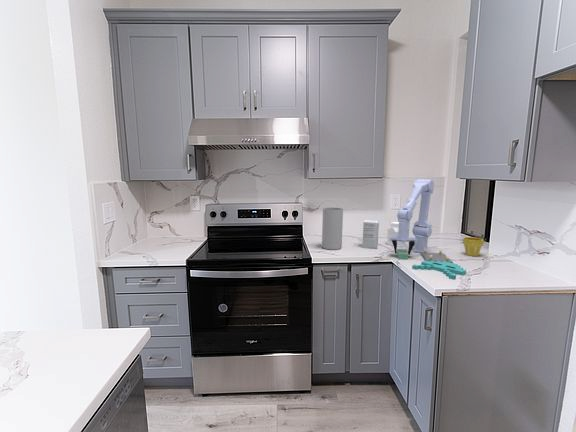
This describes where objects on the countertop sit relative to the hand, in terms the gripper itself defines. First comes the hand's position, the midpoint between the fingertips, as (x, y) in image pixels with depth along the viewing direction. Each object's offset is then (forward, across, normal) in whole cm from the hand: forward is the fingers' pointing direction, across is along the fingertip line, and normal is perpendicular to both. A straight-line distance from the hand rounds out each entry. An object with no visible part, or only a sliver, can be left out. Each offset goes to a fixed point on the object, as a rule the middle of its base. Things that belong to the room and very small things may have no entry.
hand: (402, 253), depth 175 cm
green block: (+2, 0, 0) cm, 2 cm away
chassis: (+2, +18, +1) cm, 18 cm away
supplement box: (+2, -17, +20) cm, 26 cm away
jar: (+2, 0, +29) cm, 29 cm away
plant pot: (+2, +41, +15) cm, 44 cm away
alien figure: (+2, +16, -20) cm, 26 cm away
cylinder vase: (+2, -41, +11) cm, 42 cm away
